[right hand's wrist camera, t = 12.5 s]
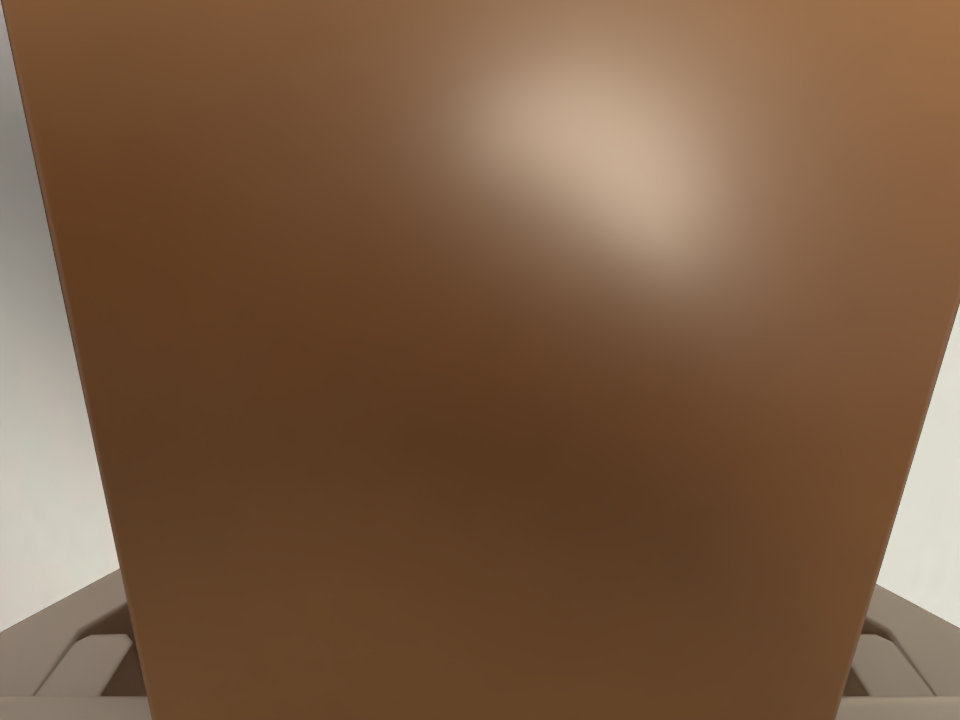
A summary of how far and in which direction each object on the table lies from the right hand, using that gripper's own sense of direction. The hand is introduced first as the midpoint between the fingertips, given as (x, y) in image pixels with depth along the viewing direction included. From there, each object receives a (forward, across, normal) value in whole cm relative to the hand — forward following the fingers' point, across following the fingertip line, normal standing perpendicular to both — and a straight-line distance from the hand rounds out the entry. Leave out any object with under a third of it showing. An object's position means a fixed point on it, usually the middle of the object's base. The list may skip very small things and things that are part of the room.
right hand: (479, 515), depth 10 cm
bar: (+4, 0, -10) cm, 11 cm away
